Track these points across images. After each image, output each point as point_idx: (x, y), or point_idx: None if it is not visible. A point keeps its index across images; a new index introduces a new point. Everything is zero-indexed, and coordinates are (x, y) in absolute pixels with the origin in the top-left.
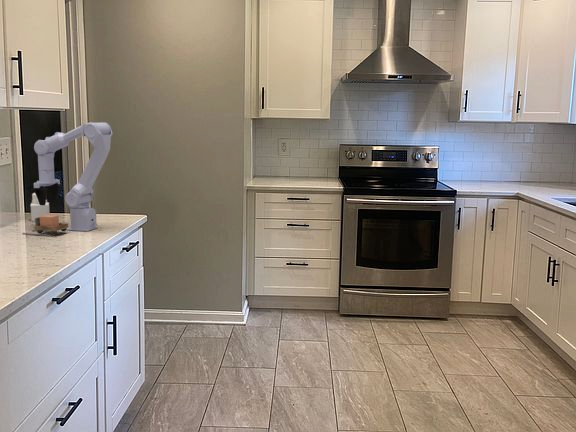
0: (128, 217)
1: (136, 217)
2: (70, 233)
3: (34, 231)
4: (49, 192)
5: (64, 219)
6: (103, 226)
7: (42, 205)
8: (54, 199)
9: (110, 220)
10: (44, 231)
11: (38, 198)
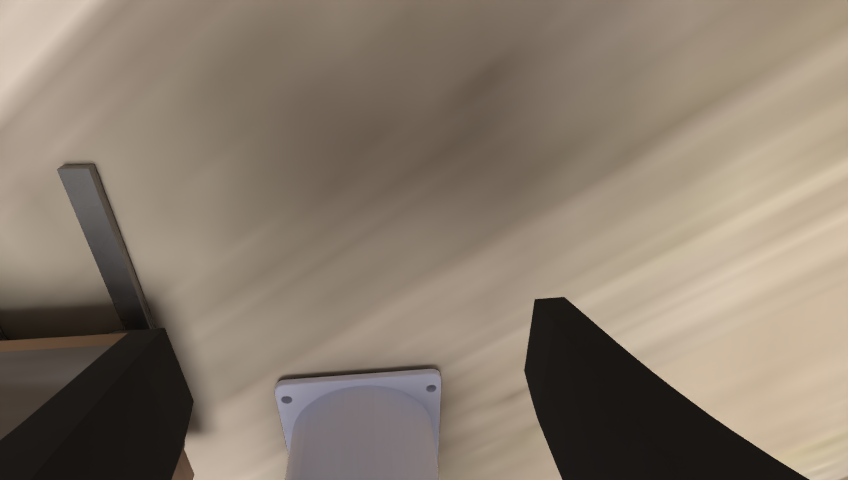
0: (830, 435)
1: (821, 465)
2: (197, 451)
3: (74, 190)
4: (662, 475)
5: (820, 44)
6: (494, 473)
7: None
8: (546, 407)
9: (720, 408)
10: (112, 294)
11: (12, 463)
